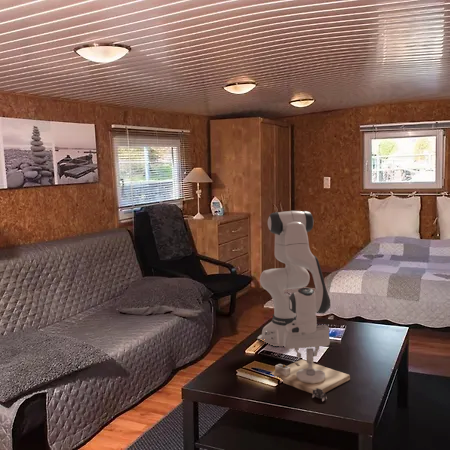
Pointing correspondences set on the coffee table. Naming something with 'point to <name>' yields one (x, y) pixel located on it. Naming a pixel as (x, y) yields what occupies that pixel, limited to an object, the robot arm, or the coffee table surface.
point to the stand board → (289, 377)
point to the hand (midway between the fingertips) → (306, 356)
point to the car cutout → (319, 394)
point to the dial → (310, 371)
